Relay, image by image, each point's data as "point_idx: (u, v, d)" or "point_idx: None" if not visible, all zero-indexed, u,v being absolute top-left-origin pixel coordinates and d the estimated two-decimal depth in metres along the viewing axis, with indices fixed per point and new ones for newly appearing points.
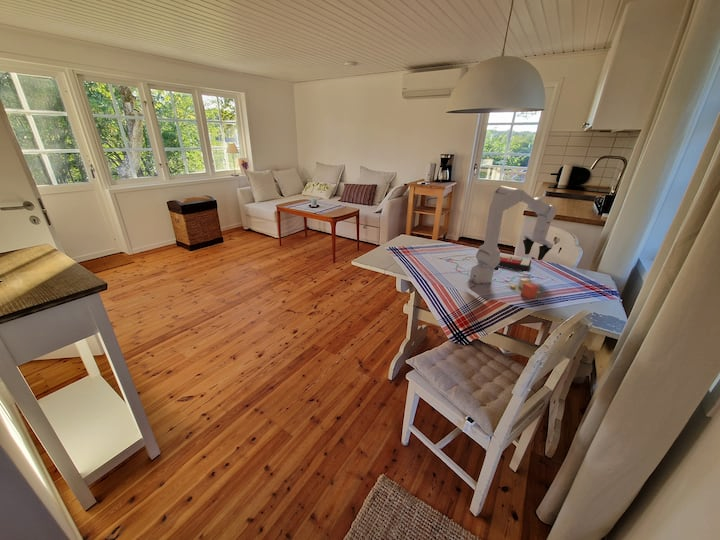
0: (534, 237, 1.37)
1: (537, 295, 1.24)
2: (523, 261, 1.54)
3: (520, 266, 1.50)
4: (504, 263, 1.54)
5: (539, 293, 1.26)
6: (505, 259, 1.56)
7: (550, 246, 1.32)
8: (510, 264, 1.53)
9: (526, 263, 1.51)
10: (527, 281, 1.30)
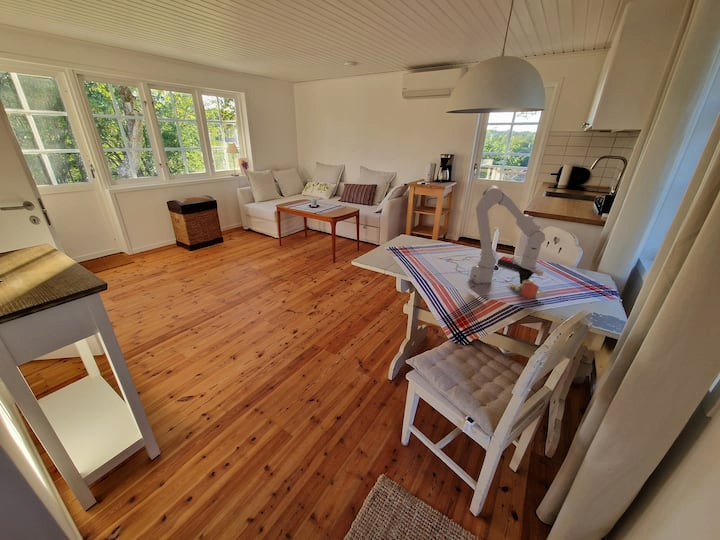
0: (523, 263, 1.27)
1: (537, 295, 1.24)
2: None
3: (519, 266, 1.51)
4: (504, 262, 1.56)
5: (539, 293, 1.26)
6: (506, 258, 1.57)
7: (540, 274, 1.23)
8: (510, 263, 1.54)
9: None
10: None
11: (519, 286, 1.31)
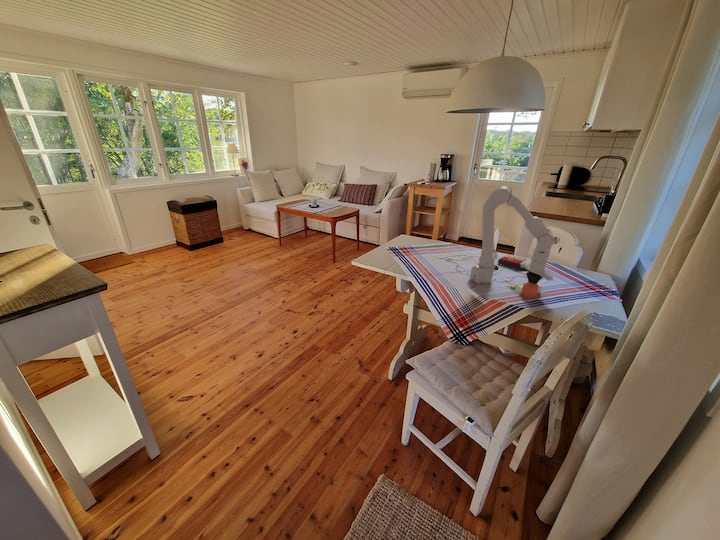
0: (532, 268, 1.23)
1: (537, 295, 1.24)
2: (524, 261, 1.53)
3: (519, 266, 1.51)
4: (504, 262, 1.56)
5: (539, 293, 1.26)
6: (506, 258, 1.58)
7: (549, 279, 1.19)
8: (510, 263, 1.54)
9: None
10: (539, 287, 1.25)
11: (519, 286, 1.31)
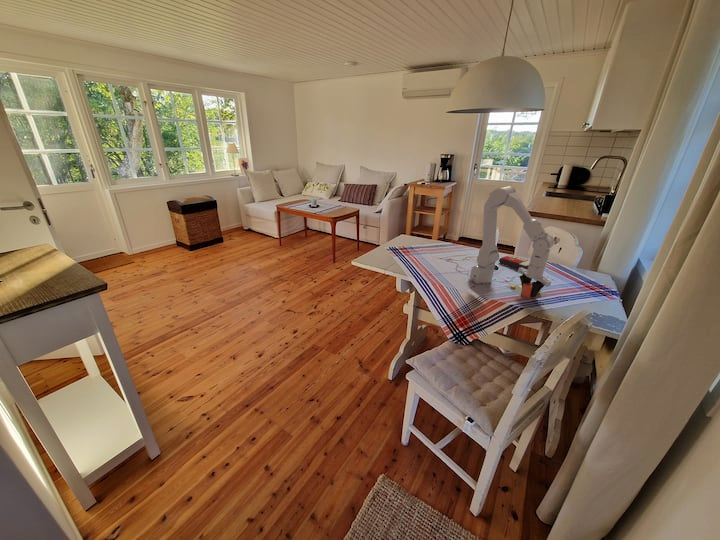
0: (529, 273, 1.19)
1: (537, 295, 1.24)
2: (525, 262, 1.53)
3: (518, 265, 1.51)
4: (504, 261, 1.57)
5: (539, 293, 1.26)
6: (508, 258, 1.58)
7: (548, 285, 1.14)
8: (510, 263, 1.55)
9: (526, 263, 1.50)
10: None
11: (519, 286, 1.31)
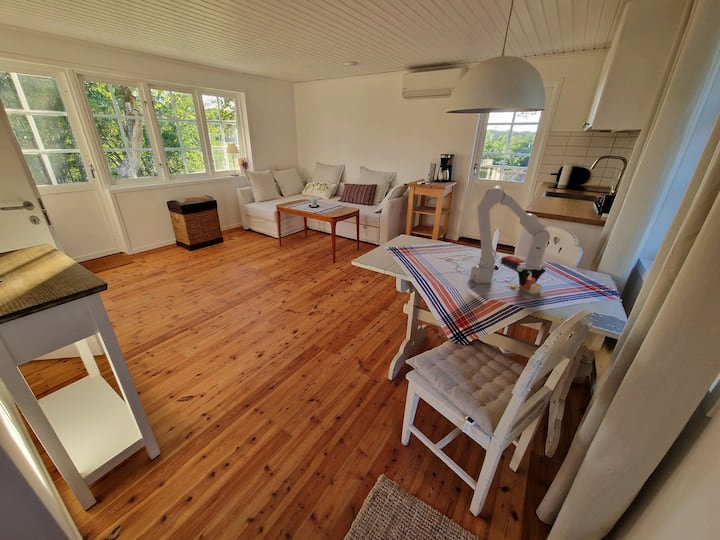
0: None
1: (537, 295, 1.24)
2: None
3: (517, 265, 1.52)
4: (506, 260, 1.58)
5: (539, 293, 1.26)
6: (510, 257, 1.59)
7: (518, 269, 1.25)
8: (510, 262, 1.56)
9: None
10: (538, 287, 1.25)
11: (519, 286, 1.31)
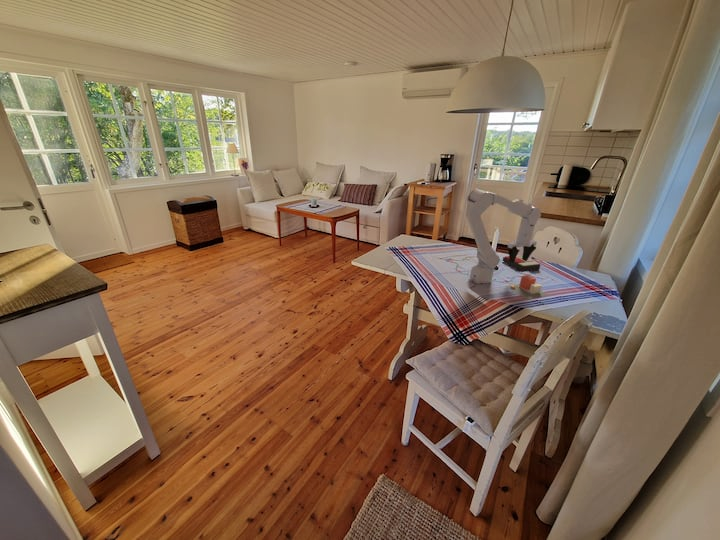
0: None
1: (537, 295, 1.24)
2: (527, 262, 1.52)
3: (517, 265, 1.52)
4: (507, 260, 1.59)
5: (539, 293, 1.26)
6: None
7: (508, 246, 1.31)
8: (511, 262, 1.56)
9: (525, 264, 1.50)
10: (538, 287, 1.25)
11: (519, 286, 1.31)
